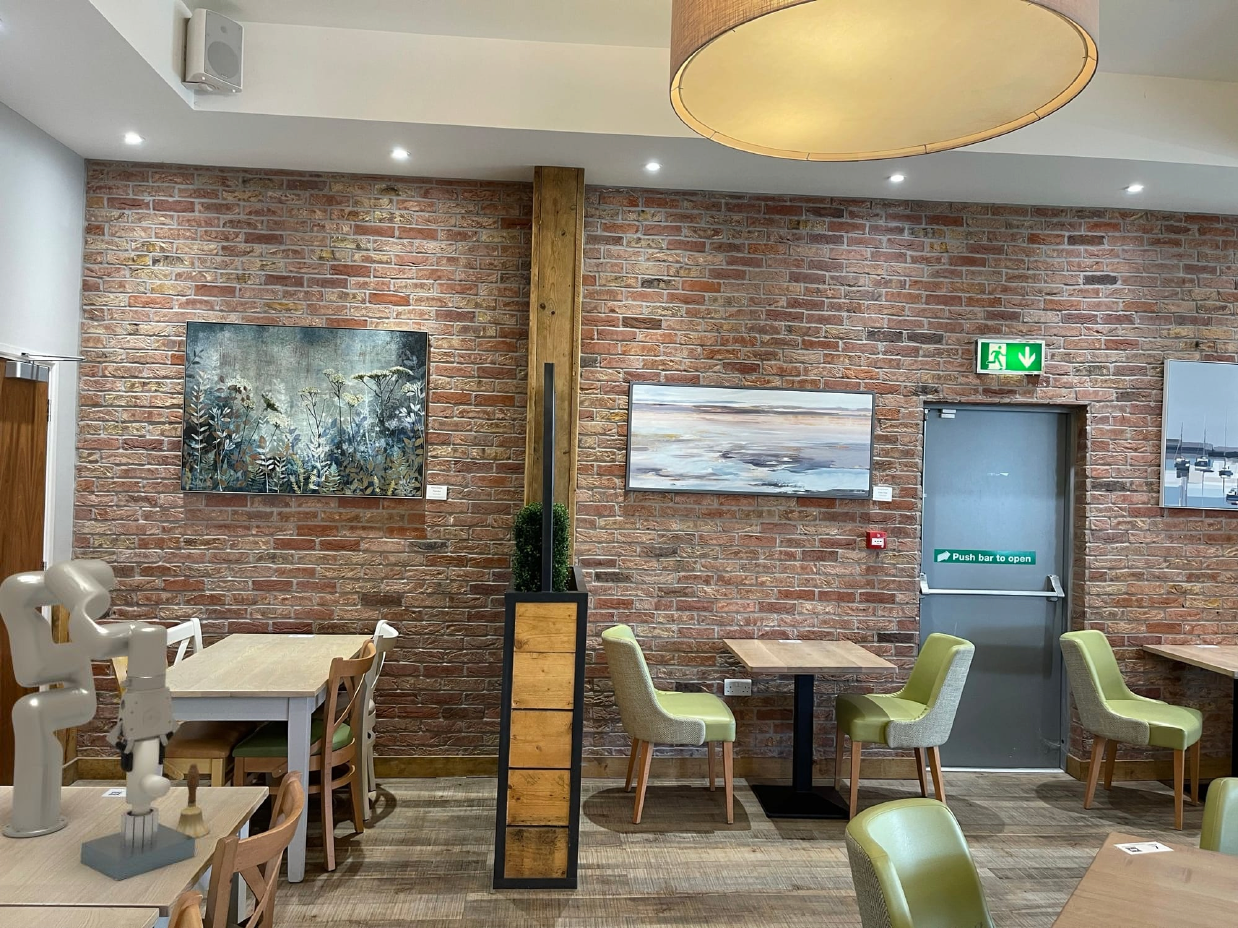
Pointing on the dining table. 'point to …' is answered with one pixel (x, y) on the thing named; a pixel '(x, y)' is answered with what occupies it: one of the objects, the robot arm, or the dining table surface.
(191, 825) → the hand bell
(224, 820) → the dining table surface
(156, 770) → the white tall branched piece
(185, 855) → the vent box
